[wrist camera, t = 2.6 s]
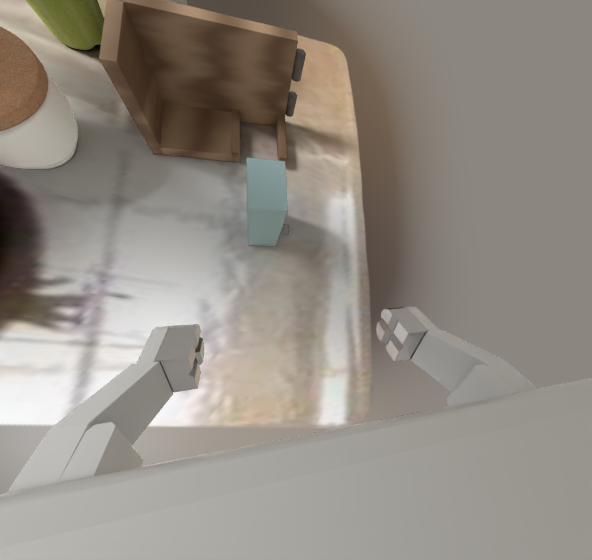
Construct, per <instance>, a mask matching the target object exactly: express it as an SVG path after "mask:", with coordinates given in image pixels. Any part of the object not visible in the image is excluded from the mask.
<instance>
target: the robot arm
mask: <svg viewBox="0 0 592 560" xmlns="http://www.w3.org/2000/svg"><path fill="white" fill-rule="evenodd" d="M381 317H382V319H381V320H380V321H379V322H378V323H377V326H376V333H377V335H378V338H379V340H380V341H381V342H382V343H384V344H386V350H387V352H388V353H389V355H390V356H391V358H392V359H393V361H402V360H411V361H412V362H413V363H415V364H416V365H417V366H418V367H420V368H421V369H422V370H424V371H425V372H426V373H428V374H429V375H430V376H432V377H433V378H434V379H436V380H437V381H438V382H440V383H441V384H442V385H444V386H445V387H446V388H448V389H449V390H450V391H451V392H452V394H451V395H450V396H449V397H448V398H447V403H448V404H449V405H450V406H447V407H443V408H437V409H432V410H427V411H422V412H417V413H412V414H407V415H402V416H397V417H391V418H386V419H381V420H376V421H371V422H366V423H361V424H356V425H351V426H346V427H341V428H335V429H330V430H325V431H320V432H315V433H311V434H305V435H300V436H295V437H290V438H285V439H280V440H274V441H269V442H264V443H259V444H254V445H249V446H244V447H239V448H234V449H229V450H224V451H219V452H214V453H209V454H204V455H199V456H193V457H189V458H184V459H178V460H173V461H168V462H163V463H158V464H153V465H148V466H143V467H141V466H142V463H143V459H142V457H141V456H140V455H139V453H138V452H137V451H136V450H135V449H134V448H133V446H132V445H133V444H134V442H135V441H136V440H137V438H138V437H139V436H140V435H141V434H142V432H143V431H144V430H145V429H146V427H147V426H148V425H149V424H150V422H151V421H152V420H153V419H154V417H155V416H156V415H157V414H158V412H159V411H160V410H161V409H162V407H163V406H164V405H165V403H166V402H167V401H168V400H169V398H170V397H171V396H172V395H173V392H179V391H185V390H191V389H197V388H198V384H199V379H200V374H201V371H200V367H199V366H200V365H201V364H202V362H203V358H204V342H203V339H202V338H201V337H200V332H201V330H200V326H199V325H198V324H194V325H177V326H165V327H156V328H154V329H153V330H152V332H151V335H150V337H149V339H148V341H147V343H146V345H145V347H144V349H143V351H142V353H141V355H140V357H139V359H138V361H137V364H132V365H130V366H129V367H128V368H126V369H125V370H124V371H123V372H121V373H120V374H119V375H118V376H116V377H115V378H114V379H113V380H111V381H110V382H109V383H108V384H106V385H105V386H104V387H102V388H101V389H100V390H99V391H97V392H96V393H95V394H94V395H92V396H91V397H90V398H89V399H87V400H86V401H85V402H84V403H82V404H81V405H80V406H79V407H77V408H76V409H75V410H73V411H72V412H71V413H70V414H68V415H67V416H66V417H65V418H63V419H62V420H61V421H60V422H58V423H57V424H56V425H55V426H53V427H52V428H51V429H49V431H48V432H47V434H46V435H45V436H44V438H43V439H42V441H41V442H40V444H39V445H38V447H37V448H36V450H35V451H34V453H33V454H32V456H31V457H30V459H29V460H28V462H27V463H26V465H25V466H24V468H23V469H22V471H21V472H20V474H19V475H18V477H17V478H16V480H15V481H14V482H13V484H12V486H11V487H10V489H9V490H8V492H7V493H6V494H1V495H0V560H592V378H590V379H585V380H580V381H575V382H569V383H564V384H559V385H554V386H549V387H544V388H539V389H537V388H536V387H535V386H534V385H532V384H531V383H530V382H529V381H528V380H527V379H525V378H524V377H523V376H522V375H521V374H520V373H519V372H517V371H516V370H515V369H514V368H513V367H512V366H511V365H509V364H508V363H507V362H506V361H505V360H503V359H501V358H499V357H497V356H495V355H492V354H491V353H489V352H487V351H485V350H483V349H480V348H478V347H476V346H474V345H472V344H470V343H468V342H466V341H464V340H462V339H460V338H458V337H456V336H454V335H452V334H450V333H448V332H446V331H444V330H439V329H438V328H437V327H436V326H435V325H434V324H433V323H432V322H431V321H430V320H429V319H428V318H427V317H426V316H425V315H424V314H423V313H422V312H421V311H420V310H419V309H418V308H417V307H414V306H409V307H401V308H400V307H399V308H388V309H384V310H383V311H382V313H381Z"/></svg>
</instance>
